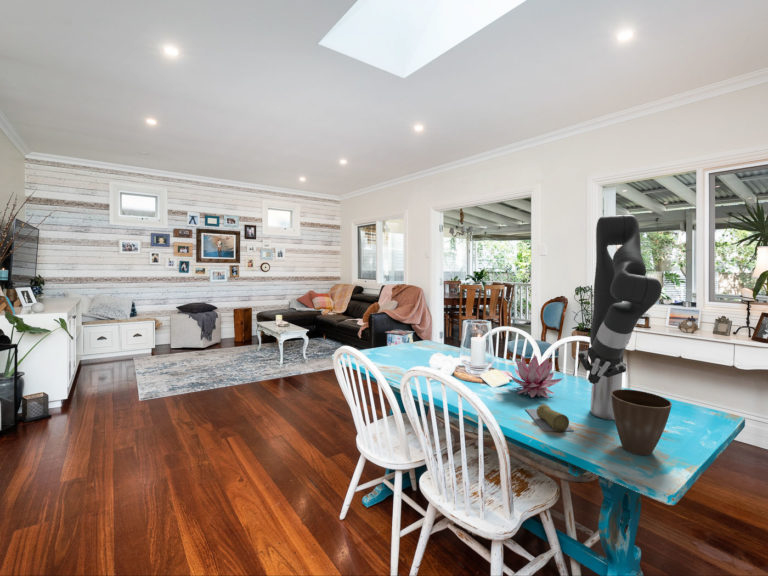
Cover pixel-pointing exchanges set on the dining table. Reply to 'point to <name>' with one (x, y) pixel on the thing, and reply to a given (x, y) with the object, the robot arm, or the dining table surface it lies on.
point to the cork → (553, 418)
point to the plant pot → (639, 419)
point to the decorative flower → (535, 377)
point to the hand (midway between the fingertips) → (592, 381)
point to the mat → (543, 421)
